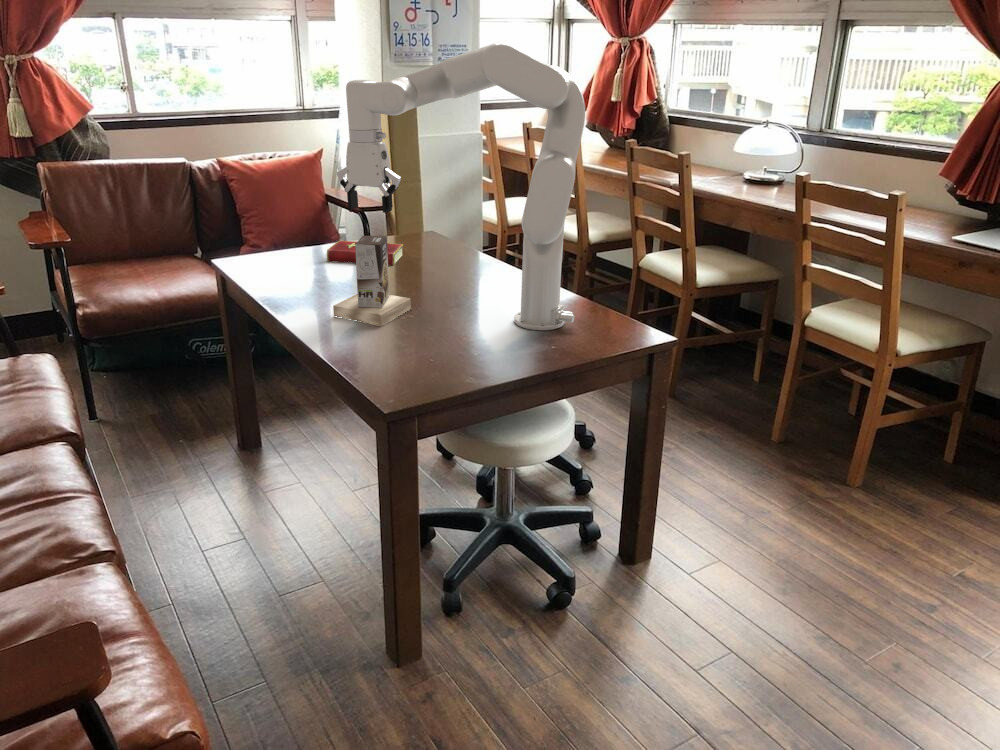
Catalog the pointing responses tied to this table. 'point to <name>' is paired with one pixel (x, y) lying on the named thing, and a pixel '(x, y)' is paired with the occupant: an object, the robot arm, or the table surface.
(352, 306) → the birch base
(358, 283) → the coffee box
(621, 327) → the table surface
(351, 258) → the hardcover book
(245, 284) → the table surface
